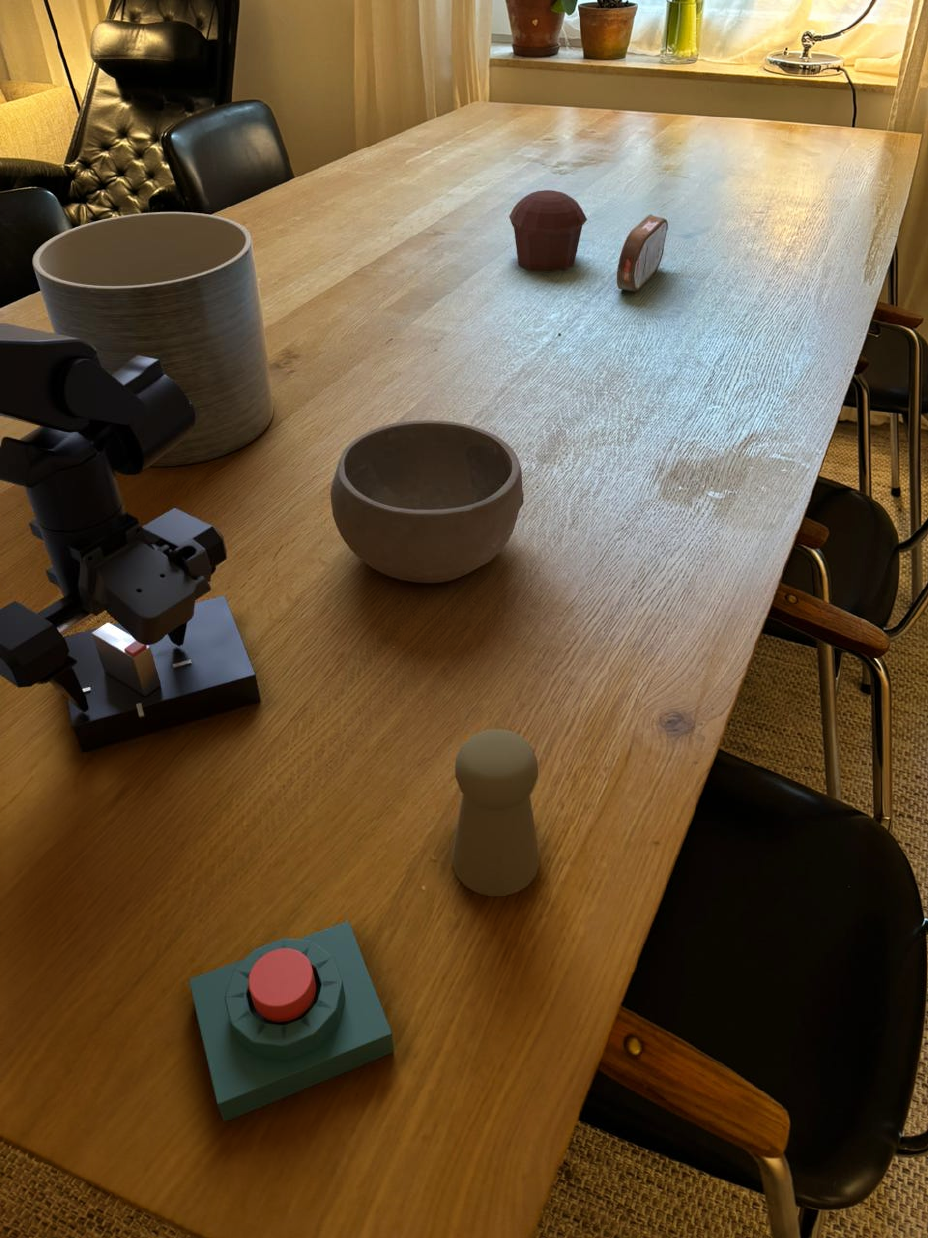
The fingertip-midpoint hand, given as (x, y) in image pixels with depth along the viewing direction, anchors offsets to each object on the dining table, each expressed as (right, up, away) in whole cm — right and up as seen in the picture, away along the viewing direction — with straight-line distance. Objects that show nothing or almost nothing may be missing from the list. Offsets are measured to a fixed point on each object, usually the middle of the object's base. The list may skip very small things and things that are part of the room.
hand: (132, 675), depth 78 cm
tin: (+52, +54, +69) cm, 102 cm away
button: (+16, -17, -21) cm, 31 cm away
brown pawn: (+28, -12, -10) cm, 32 cm away
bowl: (+23, +11, +18) cm, 31 cm away
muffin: (+39, +59, +75) cm, 103 cm away
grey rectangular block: (0, 0, 0) cm, 0 cm away
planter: (-7, +28, +38) cm, 48 cm away
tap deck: (+1, -1, +4) cm, 4 cm away
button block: (+16, -20, -19) cm, 31 cm away
